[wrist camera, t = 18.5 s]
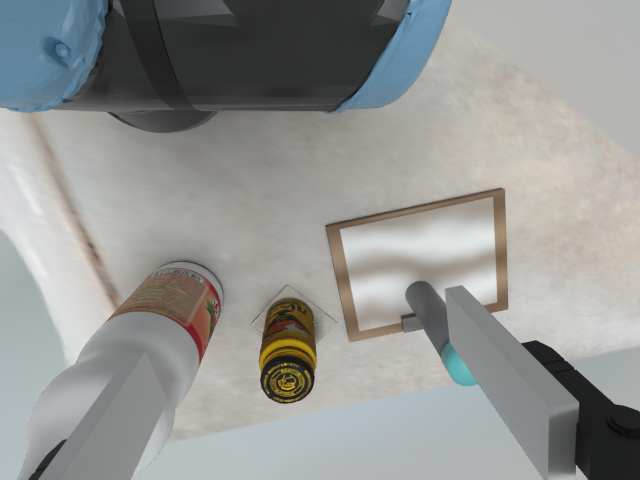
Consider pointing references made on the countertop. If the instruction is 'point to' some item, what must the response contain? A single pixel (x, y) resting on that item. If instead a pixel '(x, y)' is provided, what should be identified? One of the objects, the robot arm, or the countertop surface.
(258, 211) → the countertop surface
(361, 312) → the clipboard
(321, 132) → the countertop surface
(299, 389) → the condiment
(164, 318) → the fruit juice
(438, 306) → the marker
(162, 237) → the countertop surface
